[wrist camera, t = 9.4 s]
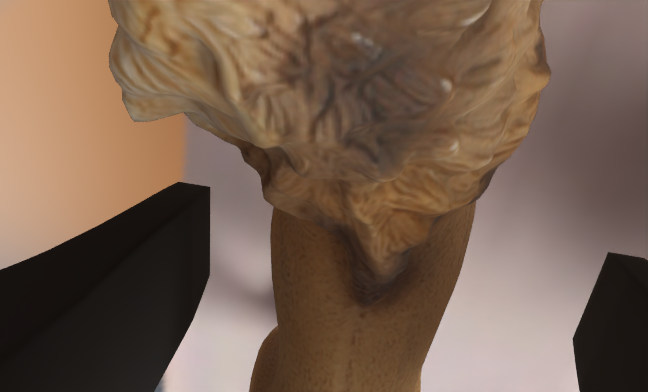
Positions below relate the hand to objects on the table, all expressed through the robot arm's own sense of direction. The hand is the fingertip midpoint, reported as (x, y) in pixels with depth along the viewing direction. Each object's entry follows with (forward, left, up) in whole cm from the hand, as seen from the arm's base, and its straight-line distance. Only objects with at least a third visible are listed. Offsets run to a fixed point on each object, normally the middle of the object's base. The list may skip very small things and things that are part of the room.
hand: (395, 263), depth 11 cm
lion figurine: (+2, 0, -4) cm, 4 cm away
